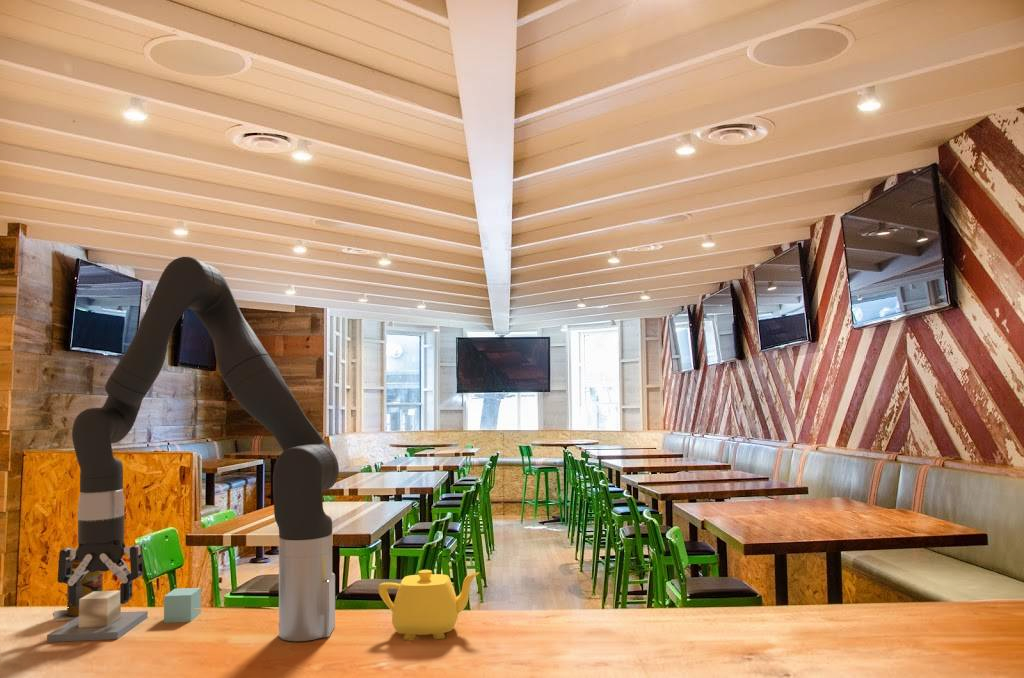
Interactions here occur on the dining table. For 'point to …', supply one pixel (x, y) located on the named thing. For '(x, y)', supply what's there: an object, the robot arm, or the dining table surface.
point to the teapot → (425, 604)
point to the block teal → (182, 605)
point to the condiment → (89, 584)
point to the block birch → (99, 609)
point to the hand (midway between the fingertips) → (100, 604)
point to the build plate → (97, 629)
